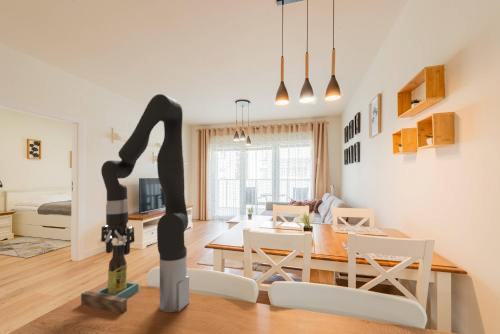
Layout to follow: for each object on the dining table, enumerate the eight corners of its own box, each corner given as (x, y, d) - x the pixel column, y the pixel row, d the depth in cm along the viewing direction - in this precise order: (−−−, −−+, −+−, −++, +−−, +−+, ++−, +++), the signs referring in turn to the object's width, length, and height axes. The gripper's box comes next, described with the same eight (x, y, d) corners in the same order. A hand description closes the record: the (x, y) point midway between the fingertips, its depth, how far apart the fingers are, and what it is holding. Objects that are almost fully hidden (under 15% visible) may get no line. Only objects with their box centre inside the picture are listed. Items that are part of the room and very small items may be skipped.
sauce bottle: (117, 301, 86) (118, 247, 87) (103, 299, 88) (103, 246, 88) (130, 292, 93) (130, 242, 93) (116, 291, 94) (117, 241, 95)
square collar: (138, 291, 94) (138, 283, 94) (114, 305, 84) (114, 297, 84) (119, 287, 97) (119, 280, 97) (94, 301, 87) (94, 293, 87)
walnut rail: (126, 310, 81) (126, 298, 81) (121, 313, 79) (121, 301, 79) (86, 301, 86) (86, 290, 87) (81, 304, 85) (81, 293, 85)
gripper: (139, 210, 93) (139, 251, 92) (111, 209, 97) (112, 249, 97) (123, 213, 86) (124, 258, 85) (94, 212, 90) (95, 255, 90)
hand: (117, 253), depth 91 cm, fingers open, 8 cm apart
